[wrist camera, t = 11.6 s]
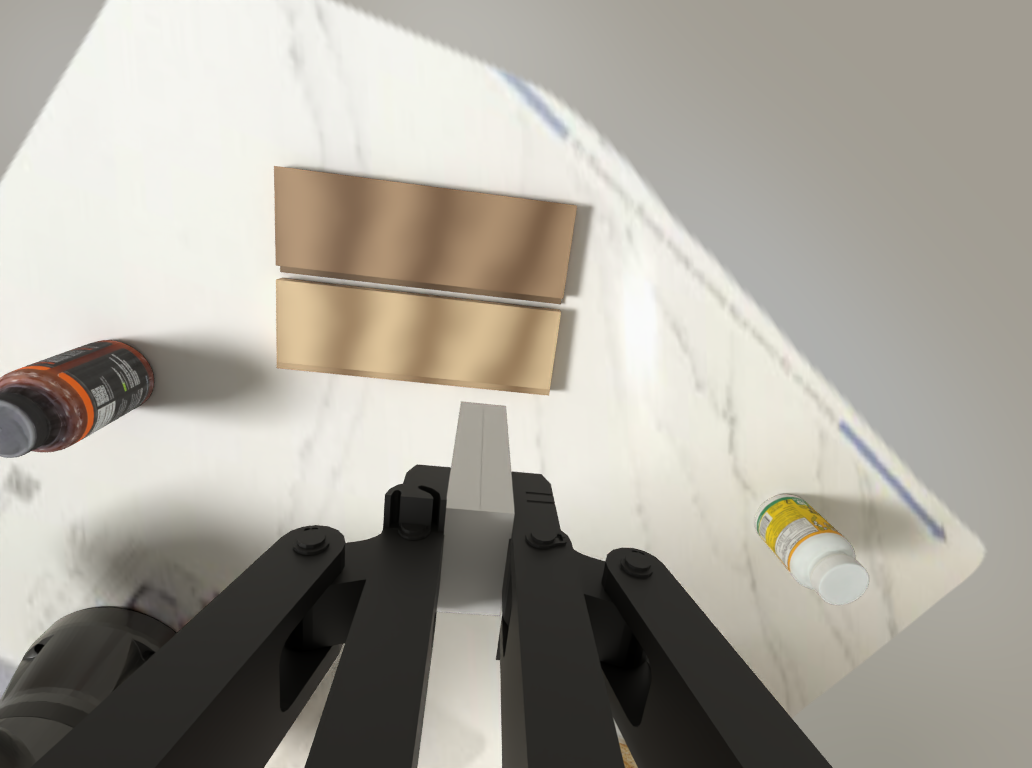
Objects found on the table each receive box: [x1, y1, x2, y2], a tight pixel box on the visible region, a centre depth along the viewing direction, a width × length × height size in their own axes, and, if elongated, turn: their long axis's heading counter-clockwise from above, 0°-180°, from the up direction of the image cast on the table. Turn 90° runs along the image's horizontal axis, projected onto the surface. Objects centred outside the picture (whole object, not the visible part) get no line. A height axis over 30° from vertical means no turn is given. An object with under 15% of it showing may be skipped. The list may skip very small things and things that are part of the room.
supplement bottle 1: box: [0, 340, 154, 458], centre depth 38 cm, size 6×6×11 cm
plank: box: [276, 278, 561, 395], centre depth 43 cm, size 22×7×1 cm, turn 83°
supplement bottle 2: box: [755, 494, 869, 605], centre depth 46 cm, size 5×5×10 cm
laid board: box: [274, 166, 577, 304], centre depth 40 cm, size 22×8×1 cm, turn 83°
